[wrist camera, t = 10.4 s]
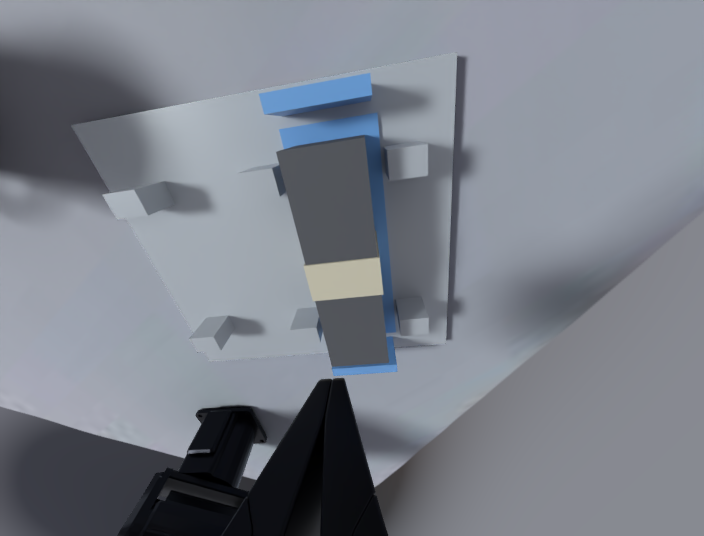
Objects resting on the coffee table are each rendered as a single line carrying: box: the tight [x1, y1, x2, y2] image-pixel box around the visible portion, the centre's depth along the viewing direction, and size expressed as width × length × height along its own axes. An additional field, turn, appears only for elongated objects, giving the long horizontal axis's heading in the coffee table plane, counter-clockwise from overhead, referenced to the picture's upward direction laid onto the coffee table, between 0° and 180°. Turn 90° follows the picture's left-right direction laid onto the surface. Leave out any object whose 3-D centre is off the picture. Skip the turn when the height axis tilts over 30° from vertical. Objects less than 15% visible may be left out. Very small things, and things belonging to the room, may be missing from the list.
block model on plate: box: [71, 52, 457, 376], centre depth 18 cm, size 20×22×4 cm
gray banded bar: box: [276, 135, 389, 367], centre depth 16 cm, size 14×4×4 cm, turn 8°
